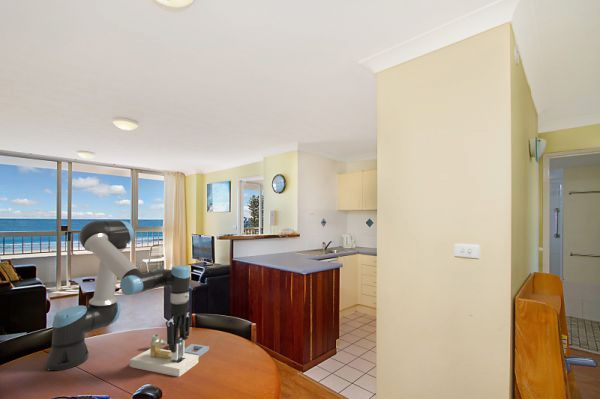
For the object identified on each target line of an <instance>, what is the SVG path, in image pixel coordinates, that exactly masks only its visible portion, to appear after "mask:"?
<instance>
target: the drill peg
mask: <svg viewBox="0 0 600 399" xmlns="http://www.w3.org/2000/svg"><path fill="white" fill-rule="evenodd" d="M182 341H183V337H181V336H180V335H178V339H177V344H178V360H174V362H175V363H180V362H181V361H182Z"/></svg>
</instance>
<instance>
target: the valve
mask: <svg viewBox="0 0 600 399" xmlns="http://www.w3.org/2000/svg"><path fill="white" fill-rule="evenodd" d="M156 342H159V343H161V347H162V346H166V345H168V347H169V350H170V351H171V345H169V344H167V340H164V339H163V338H161V339H160V334H158V333H156V334H153V335H151V341H150V346H151V345H152V344H154V343H156Z"/></svg>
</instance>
